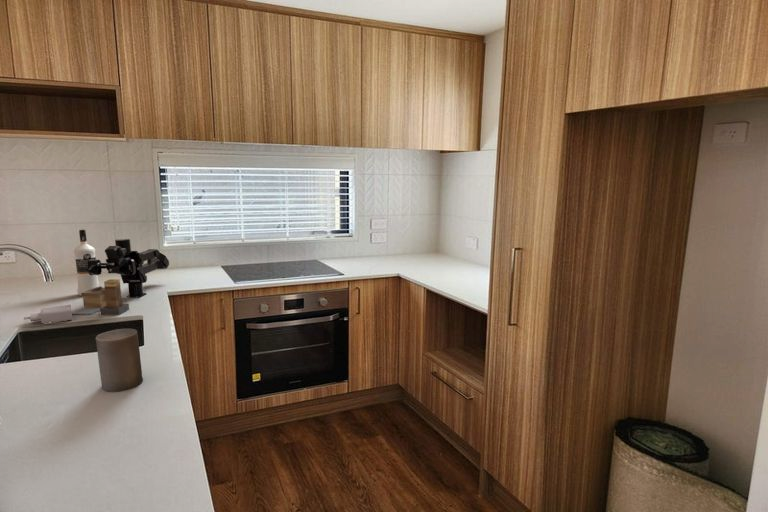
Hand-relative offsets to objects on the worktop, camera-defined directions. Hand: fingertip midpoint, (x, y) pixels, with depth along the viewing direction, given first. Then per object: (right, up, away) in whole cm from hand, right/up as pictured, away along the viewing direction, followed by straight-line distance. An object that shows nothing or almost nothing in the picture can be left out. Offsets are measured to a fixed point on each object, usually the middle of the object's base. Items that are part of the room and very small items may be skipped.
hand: (100, 271), depth 196 cm
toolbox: (-7, -15, +12) cm, 20 cm away
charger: (-14, -19, -9) cm, 25 cm away
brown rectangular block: (+5, -16, +2) cm, 17 cm away
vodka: (-23, -12, +32) cm, 42 cm away
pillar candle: (+44, -28, -67) cm, 85 cm away
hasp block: (+5, -16, +2) cm, 17 cm away
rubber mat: (-6, -16, +2) cm, 18 cm away
